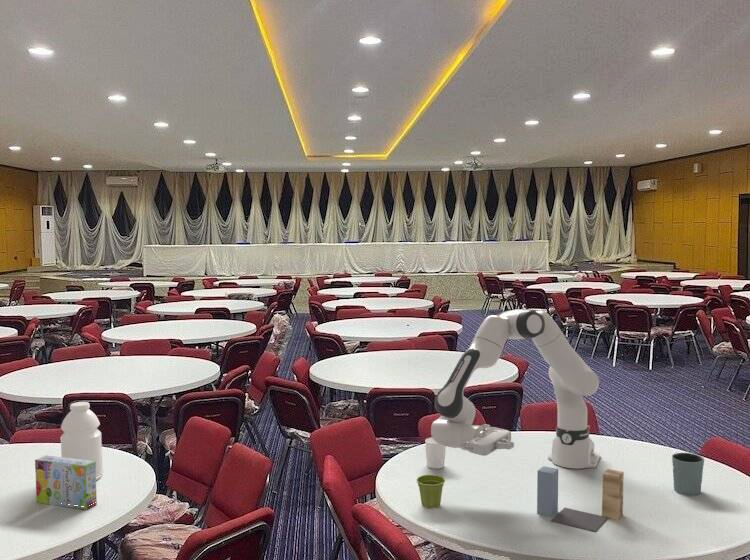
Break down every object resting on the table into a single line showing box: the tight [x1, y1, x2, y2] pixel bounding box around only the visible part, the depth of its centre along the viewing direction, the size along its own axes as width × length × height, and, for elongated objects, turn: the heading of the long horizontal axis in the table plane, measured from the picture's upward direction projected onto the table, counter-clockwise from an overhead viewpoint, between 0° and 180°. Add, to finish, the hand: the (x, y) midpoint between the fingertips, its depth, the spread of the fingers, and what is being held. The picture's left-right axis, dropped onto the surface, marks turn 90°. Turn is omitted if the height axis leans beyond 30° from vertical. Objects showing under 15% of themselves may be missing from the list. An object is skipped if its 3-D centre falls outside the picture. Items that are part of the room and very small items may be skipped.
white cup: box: [424, 437, 447, 470], centre depth 275 cm, size 8×8×10 cm
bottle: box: [59, 401, 104, 481], centre depth 264 cm, size 14×14×28 cm
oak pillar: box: [601, 468, 625, 521], centre depth 228 cm, size 5×5×14 cm
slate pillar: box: [536, 465, 559, 517], centre depth 231 cm, size 5×5×14 cm
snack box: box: [34, 454, 98, 510], centre depth 241 cm, size 21×6×15 cm, turn 71°
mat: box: [550, 507, 609, 533], centre depth 225 cm, size 12×14×1 cm
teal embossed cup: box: [671, 452, 705, 496], centre depth 248 cm, size 10×10×12 cm
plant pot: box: [416, 474, 446, 509], centre depth 237 cm, size 9×9×9 cm
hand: (512, 446), depth 237 cm, fingers closed
